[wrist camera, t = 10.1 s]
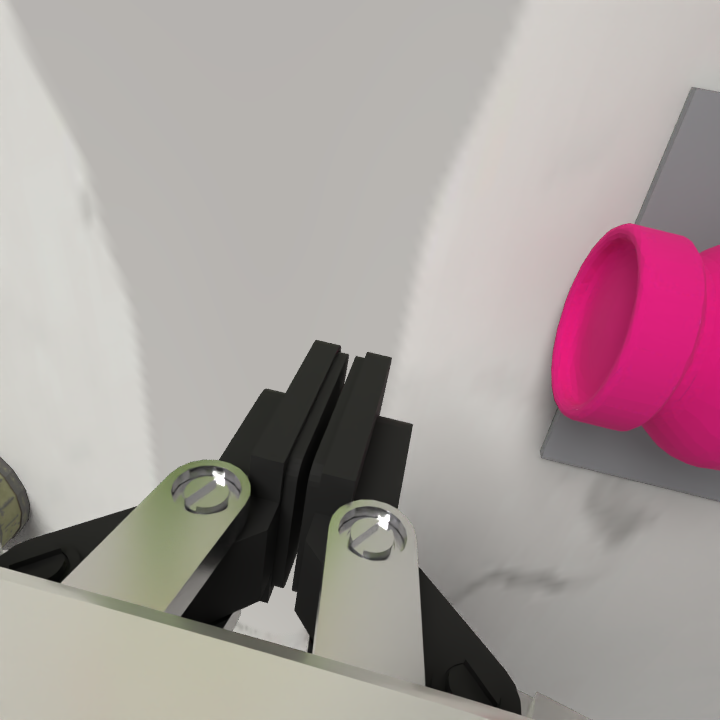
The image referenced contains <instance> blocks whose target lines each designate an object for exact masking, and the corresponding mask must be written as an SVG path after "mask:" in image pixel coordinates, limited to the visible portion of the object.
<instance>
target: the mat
mask: <svg viewBox="0 0 720 720" xmlns="http://www.w3.org/2000/svg"><path fill="white" fill-rule="evenodd" d="M635 224H636V225H640V226H644V227H649V228H653V229H657V230H661V231H665V232H669V233H673V234H677V235H681V236H684V237H686V238H688V239H689V240H691V241H692V242H693V244H694V245H695V247H696V249H697V250H698V252H699V253H700V252H702V251H704V250H706V249H709V248H712V247H714V246H717V245H720V92H716V91H711V90H705V89H700V88H695V87H692V88H691V90H690V93H689V95H688V97H687V100H686V102H685V105H684V107H683V109H682V112H681V114H680V117H679V119H678V121H677V124H676V126H675V129H674V131H673V133H672V136H671V138H670V141H669V143H668V145H667V148H666V150H665V153H664V155H663V157H662V160H661V162H660V165H659V167H658V169H657V172H656V174H655V177H654V179H653V181H652V184H651V186H650V189H649V191H648V193H647V196H646V198H645V201H644V203H643V205H642V208H641V210H640V213H639V215H638V217H637V220H636V222H635ZM540 452H541V458H544V459H548V460H552V461H557V462H561V463H565V464H569V465H573V466H577V467H581V468H585V469H589V470H593V471H597V472H601V473H606V474H610V475H614V476H618V477H622V478H626V479H630V480H634V481H638V482H642V483H646V484H650V485H654V486H659V487H663V488H667V489H671V490H675V491H679V492H683V493H687V494H691V495H695V496H699V497H703V498H708V499H712V500H716V501H720V470H713V469H707V468H700V467H696V466H692V465H689V464H686V463H684V462H682V461H680V460H678V459H676V458H674V457H672V456H670V455H669V454H667V453H666V452H665V451H664V450H662V449H661V448H660V447H659V446H657V444H656V443H655V442H654V441H653V440H652V438H651V437H650V436H649V435H648V433H647V432H646V431H645V430H644V428H643V427H642V425H641V426H639V427H637V428H634V429H631V430H629V431H616V430H611V429H607V428H603V427H599V426H595V425H591V424H587V423H583V422H579V421H575V420H572V419H570V418H568V417H566V416H564V415H563V414H562V413H561V411H560V410H559V408H558V410H557V412H556V414H555V417H554V419H553V422H552V424H551V426H550V429H549V431H548V434H547V436H546V438H545V441H544V443H543V446H542V448H541V450H540Z"/></svg>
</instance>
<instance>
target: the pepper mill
mask: <svg viewBox="0 0 720 720" xmlns="http://www.w3.org/2000/svg"><path fill="white" fill-rule="evenodd" d="M551 375H552V390H553V395H554V400H555V402H556V404H557V406H558V408H559V410H560V411H561V413H562V414H563V415H564V416H566V417H568V418H570V419H572V420H575V421H579V422H583V423H587V424H591V425H595V426H599V427H603V428H607V429H611V430H616V431H629V430H631V429H634V428H637V427H639V426H641V425H642V427H643V428H644V430H645V431H646V432H647V433H648V435H649V436H650V437H651V438H652V440H653V441H654V442H655V443H656V444H657V446H659V447H660V448H661V449H662V450H664V451H665V452H666V453H667V454H669V455H670V456H672V457H674V458H676V459H678V460H680V461H682V462H684V463H686V464H689V465H692V466H696V467H700V468H707V469H713V470H720V245H717V246H714V247H712V248H709V249H706V250H704V251H702V252H700V253H699V252H698V250H697V249H696V247H695V245H694V244H693V242H692V241H691V240H689V239H688V238H686V237H684V236H681V235H677V234H673V233H669V232H665V231H661V230H657V229H653V228H649V227H644V226H640V225H636V224H630V223H628V224H624V225H620V226H618V227H616V228H613V229H611V230H610V231H609V232H607V233H606V234H605V235H604V236H603V237H602V238H601V239H600V240H599V241H598V243H597V244H596V245H595V246H594V247H593V249H592V250H591V251H590V253H589V255H588V256H587V258H586V259H585V261H584V263H583V264H582V266H581V268H580V270H579V272H578V274H577V276H576V278H575V280H574V282H573V284H572V286H571V288H570V291H569V294H568V296H567V299H566V302H565V305H564V308H563V312H562V315H561V318H560V321H559V325H558V328H557V333H556V338H555V343H554V348H553V355H552V367H551Z"/></svg>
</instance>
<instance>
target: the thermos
mask: <svg viewBox="0 0 720 720" xmlns="http://www.w3.org/2000/svg"><path fill="white" fill-rule="evenodd" d="M29 507H30V505H29V502H28V498H27V495H26V492H25V488H24V487H23V485H22V484H21V482H20V480H19V479H18V477H17V476H16V474H15V473H14V471H13V470H12V469H11V468H10V467H9V466H8V465H7V464H6V463H5V462H4V461H3V460H2V459H1V458H0V543H1V546H2V547H3V546H4V545H5V544H6V543H7V542H8V541H9V540H10V539H12V538H14V537H15V536H16V535H17V534H18V533H19V531H20V530H21V529H22V528H23V526H24V525H25V523H26V522H27V521H28V517H29Z"/></svg>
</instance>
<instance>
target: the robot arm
mask: <svg viewBox="0 0 720 720" xmlns="http://www.w3.org/2000/svg"><path fill="white" fill-rule="evenodd" d="M348 358H349V355H348V354H345V353H341V346H340V345H336V344H332V343H327V342H323V341H319V340H315V342H314V343H313V345H312V347H311V349H310V351H309V352H308V354H307V356H306V358H305V359H304V361H303V363H302V365H301V367H300V368H299V370H298V372H297V374H296V375H295V377H294V379H293V381H292V383H291V384H290V386H289V388H288V390H287V392H286V393H283V392H279V391H274V390H270V389H264V390H263V392H262V393H261V394H260V396H259V397H258V399H257V401H256V402H255V404H254V405H253V407H252V409H251V410H250V412H249V413H248V415H247V416H246V418H245V420H244V421H243V423H242V424H241V426H240V428H239V429H238V431H237V432H236V434H235V435H234V437H233V439H232V440H231V442H230V443H229V445H228V447H227V448H226V450H225V451H224V453H223V454H222V456H221V458H220V459H219V460H200V461H193V462H190V463H187V464H185V465H183V466H180V467H178V468H177V469H176V470H174V471H173V472H172V473H170V474H169V475H168V476H167V477H166V478H165V479H164V480H163V481H162V482H161V483H160V484H159V485H158V486H157V487H156V488H155V489H154V490H153V491H152V492H151V493H150V494H149V495H148V496H147V497H146V498H145V499H144V500H143V501H142V502H141V503H140V504H139V505H138V506H136V507H133V508H130V509H126V510H123V511H120V512H117V513H114V514H110V515H107V516H104V517H101V518H97V519H94V520H91V521H88V522H84V523H81V524H78V525H75V526H72V527H68V528H65V529H62V530H59V531H55V532H52V533H49V534H46V535H42V536H39V537H36V538H33V539H30V540H27V541H25V542H23V543H20V544H18V545H16V546H14V547H12V548H11V549H9V550H2V546H1V543H0V720H591V719H589V718H587V717H585V716H583V715H582V714H580V713H578V712H576V711H574V710H572V709H570V708H568V707H566V706H564V705H562V704H560V703H558V702H556V701H554V700H552V699H550V698H548V697H546V696H544V695H542V694H541V693H539V692H536V694H535V696H534V698H533V697H531V696H529V695H527V694H525V693H523V692H521V691H519V690H517V689H516V686H515V684H514V682H513V681H512V679H511V678H510V676H509V675H508V673H507V672H506V670H505V669H504V668H503V667H502V665H501V664H500V663H499V662H498V661H497V659H496V658H495V657H494V656H493V655H492V653H491V652H490V651H489V650H488V649H487V648H486V646H485V645H484V644H483V643H482V642H481V640H480V639H479V638H478V637H477V636H476V634H475V633H474V632H473V631H472V630H471V628H470V627H469V626H468V625H467V624H466V622H465V621H464V620H463V619H462V618H461V616H460V615H459V614H458V613H457V612H456V611H455V609H454V608H453V607H452V606H451V605H450V603H449V602H448V601H447V600H446V599H445V597H444V596H443V595H442V594H441V593H440V591H439V590H438V589H437V588H436V587H435V585H434V584H433V583H432V582H431V581H430V580H429V578H428V577H427V576H426V575H425V574H424V572H423V571H422V570H421V569H420V568H419V566H418V552H417V538H416V534H415V530H414V527H413V525H412V524H411V522H410V521H409V519H408V518H407V517H406V516H405V515H404V514H403V513H402V512H400V511H399V510H398V503H399V498H400V492H401V487H402V482H403V476H404V471H405V465H406V460H407V454H408V449H409V443H410V438H411V432H412V427H413V424H410V423H406V422H402V421H398V420H394V419H390V418H385V417H381V416H379V415H380V411H381V406H382V401H383V397H384V392H385V388H386V383H387V378H388V374H389V369H390V365H391V360H392V358H391V357H387V356H382V355H379V354H374V353H370V352H367V354H366V356H365V358H362V357H358V356H356V357H355V359H354V362H353V365H352V367H351V369H350V372H349V374H348V377H347V379H346V382H345V376H346V370H347V364H348ZM344 382H345V384H344ZM296 554H297V559H296V565H295V572H294V579H293V586H292V591H295V592H297V598H296V604H295V612H296V614H297V615H298V617H299V619H300V620H301V622H302V624H303V625H304V627H305V629H306V630H307V632H308V634H309V637H308V642H307V649H306V652H304V651H300V650H297V649H293V648H290V647H286V646H282V645H279V644H275V643H272V642H268V641H265V640H261V639H258V638H254V637H251V636H247V635H244V634H240V633H236V632H233V629H234V628H235V626H236V625H237V622H238V620H239V617H240V614H241V609H243V608H245V607H247V606H249V605H252V604H254V603H256V602H258V601H262V602H266V603H268V601H269V598H270V596H271V593H272V590H273V588H274V586H277V587H281V588H284V586H285V584H286V582H287V579H288V576H289V573H290V571H291V568H292V565H293V563H294V559H295V557H296Z"/></svg>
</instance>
